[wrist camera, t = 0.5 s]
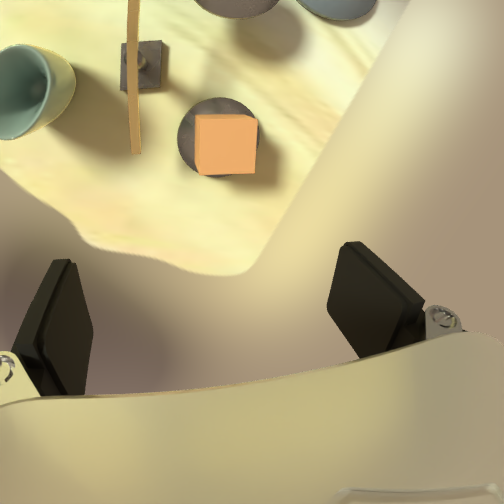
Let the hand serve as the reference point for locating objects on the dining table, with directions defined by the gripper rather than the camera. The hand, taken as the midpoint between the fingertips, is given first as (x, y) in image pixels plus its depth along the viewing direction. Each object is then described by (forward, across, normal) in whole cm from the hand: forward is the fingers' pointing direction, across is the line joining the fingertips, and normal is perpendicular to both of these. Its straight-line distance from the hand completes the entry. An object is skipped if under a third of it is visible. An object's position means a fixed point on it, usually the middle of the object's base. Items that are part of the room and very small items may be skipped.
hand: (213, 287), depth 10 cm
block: (+23, -4, -2) cm, 24 cm away
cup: (+25, +14, -8) cm, 30 cm away
